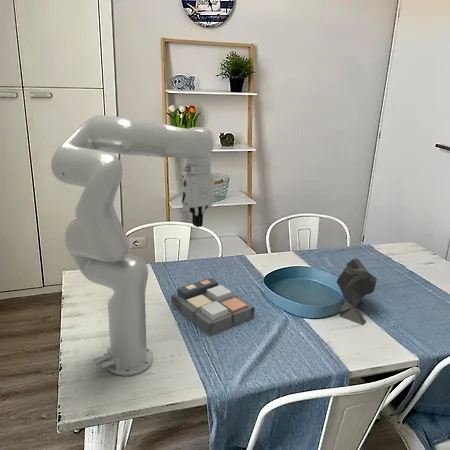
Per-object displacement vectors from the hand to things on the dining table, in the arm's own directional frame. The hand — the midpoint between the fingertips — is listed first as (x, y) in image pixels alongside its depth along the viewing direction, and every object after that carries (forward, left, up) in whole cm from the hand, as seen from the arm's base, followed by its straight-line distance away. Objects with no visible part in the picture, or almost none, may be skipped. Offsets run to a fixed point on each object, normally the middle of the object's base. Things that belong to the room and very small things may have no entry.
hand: (197, 225), depth 139 cm
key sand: (-2, -5, -27) cm, 28 cm away
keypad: (+2, -6, -29) cm, 30 cm away
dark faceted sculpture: (+43, -32, -29) cm, 61 cm away
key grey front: (-2, -13, -26) cm, 29 cm away
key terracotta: (+6, -13, -27) cm, 31 cm away
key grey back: (+6, -5, -26) cm, 27 cm away
